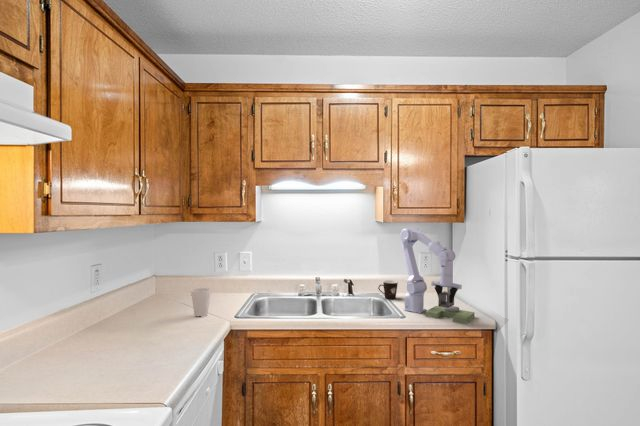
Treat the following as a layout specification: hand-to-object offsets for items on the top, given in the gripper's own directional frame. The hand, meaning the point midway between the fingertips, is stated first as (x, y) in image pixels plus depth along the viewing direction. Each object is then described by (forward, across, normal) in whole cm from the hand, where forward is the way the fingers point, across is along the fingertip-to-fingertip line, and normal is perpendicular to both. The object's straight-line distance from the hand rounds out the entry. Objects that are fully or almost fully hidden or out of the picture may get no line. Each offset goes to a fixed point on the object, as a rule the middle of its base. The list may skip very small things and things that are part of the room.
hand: (446, 301), depth 193 cm
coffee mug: (+9, +43, -21) cm, 49 cm away
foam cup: (+9, +100, +71) cm, 123 cm away
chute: (+2, 0, 0) cm, 2 cm away
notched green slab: (+9, 0, -6) cm, 11 cm away
